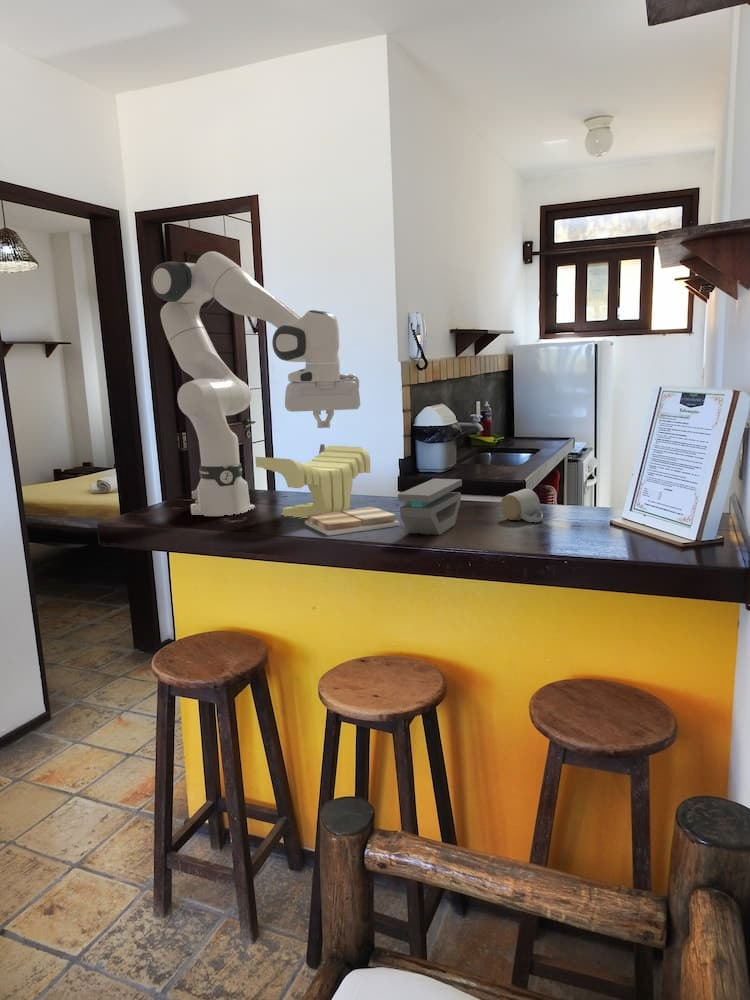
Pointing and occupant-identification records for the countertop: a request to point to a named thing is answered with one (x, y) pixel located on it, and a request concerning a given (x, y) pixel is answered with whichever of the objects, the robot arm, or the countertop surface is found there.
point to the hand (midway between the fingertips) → (323, 427)
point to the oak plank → (334, 521)
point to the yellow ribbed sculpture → (322, 478)
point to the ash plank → (370, 515)
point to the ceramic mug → (521, 506)
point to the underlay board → (354, 529)
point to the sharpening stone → (431, 506)
